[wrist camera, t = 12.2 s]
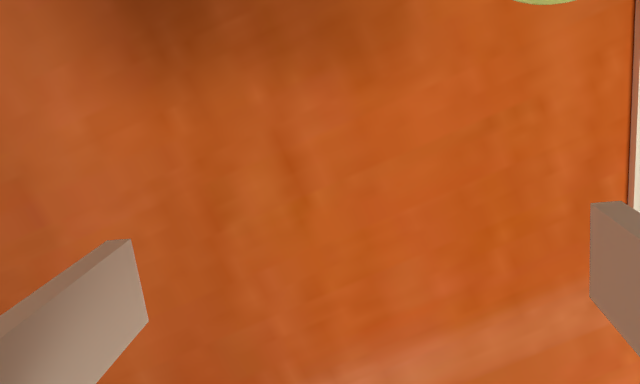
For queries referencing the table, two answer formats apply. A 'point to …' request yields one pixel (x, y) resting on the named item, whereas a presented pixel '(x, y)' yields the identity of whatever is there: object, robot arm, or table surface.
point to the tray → (635, 121)
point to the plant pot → (544, 1)
